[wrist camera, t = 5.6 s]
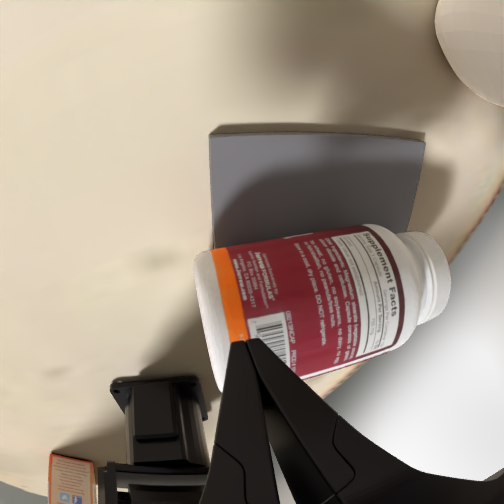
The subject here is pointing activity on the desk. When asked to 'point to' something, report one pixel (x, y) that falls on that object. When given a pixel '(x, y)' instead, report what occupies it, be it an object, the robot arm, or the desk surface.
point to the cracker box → (71, 481)
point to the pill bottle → (321, 295)
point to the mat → (309, 183)
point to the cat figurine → (474, 44)
